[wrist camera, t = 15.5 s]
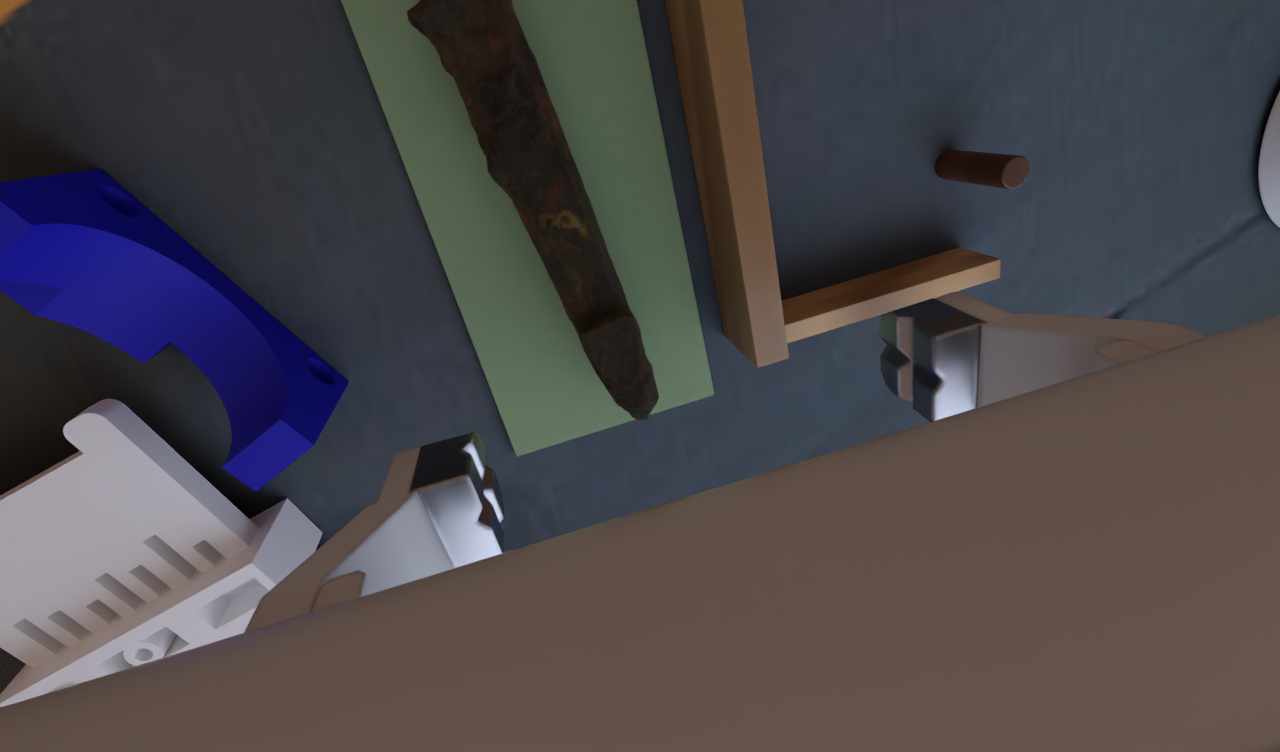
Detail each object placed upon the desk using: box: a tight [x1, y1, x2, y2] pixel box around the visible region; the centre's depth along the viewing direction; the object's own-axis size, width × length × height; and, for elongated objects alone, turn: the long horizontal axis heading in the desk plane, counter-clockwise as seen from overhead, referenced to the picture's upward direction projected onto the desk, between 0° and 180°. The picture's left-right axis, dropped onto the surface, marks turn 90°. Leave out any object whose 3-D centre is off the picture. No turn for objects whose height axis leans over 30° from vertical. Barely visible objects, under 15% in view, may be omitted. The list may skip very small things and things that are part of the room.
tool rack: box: [664, 0, 1030, 368], centre depth 25 cm, size 14×24×4 cm, turn 13°
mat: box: [341, 0, 714, 456], centre depth 27 cm, size 11×22×1 cm, turn 13°
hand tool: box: [407, 0, 659, 420], centre depth 25 cm, size 19×4×5 cm, turn 18°
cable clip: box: [0, 168, 349, 492], centre depth 23 cm, size 12×4×6 cm, turn 36°
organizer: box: [0, 399, 323, 707], centre depth 32 cm, size 13×5×35 cm
